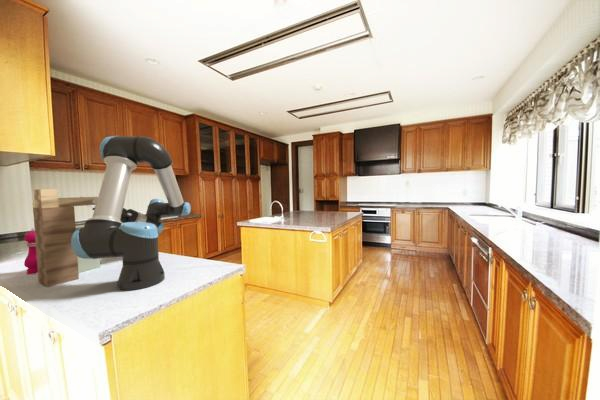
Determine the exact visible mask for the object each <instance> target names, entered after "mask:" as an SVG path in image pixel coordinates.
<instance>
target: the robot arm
mask: <svg viewBox="0 0 600 400" xmlns="http://www.w3.org/2000/svg"><path fill="white" fill-rule="evenodd" d="M99 151H100V152H99V154H100V158H101V159H102V160H103V163H104V164H105V165H106V168H105V171H104V175H103V179H102V183H101V185H100V189H99V192H98V195H97V196H94V197H95V198H94V200H93V201H92V202H93V203H95V204H96V205H85V206H86V207H89V208H91V209H92V211H93V213H92V217H90V218H89V219H86V220H85V223H84V225H85V226H84V225H83V226H84V228H83V227H82V228H79V229H77V230H76V231H75V232H74V233H73V235H72V238H71V246H72V249H73V250H74V253H75V254H76V255H77V256H78V257H80V258H84V259H98V258H100V259H106V258H107V259H108V258H121V259H122V267H121V271H120V273H119V276H118V279H117V288H118V289H119V290H121V291H122V290H123V291H133V290H135V291H136V290H139V289H140V290H142V289H144V288H145V289H146V288H149V287H152V286H155V285H157V284H160V283H161V282H163V281H164V280H165V278H166V277H165V271H164V268H163V266H162V264H161V262H160V259H159V257H160V254H159V253H160V252H159V234H161V233H162V232H163V231H164V228H165V223H164V222H162V221H161V220H162V219H161V218H162V217H169V216H170V217H177V216H178V217H179V216H180V217H181V216H189V215H190V214H191V210H192V209H191V208H192V207H191V204H190V203H189V202H188V201H184V198H183V196H182V193H181V190H180V187H179V185H178V181H177V179H176V175H175V173H174V169H173V166H172V165H173V159H172V157H171V155H170V154H169V152H168V151H167V150H166V148H165V147H164V146H163V145H162V144H161V143H160V142H158V141H157V140H155V139H153V138H152V137H148V136H143V135H142V136H132V135H131V136H129V135H128V136H123V135H114V136H107V137H105V138H103V139H102V140H101V142H100V144H99ZM138 163H140V164H141V163H143V164H144V163H146V164H149V167H150V168H151V169H152V170H154V173H155V174H156V177H157V179H158V182H159V184H160V186H161V188H162V191H163V194H164V196H165V199H166V200H167V202H165V201H164V200H163V199H158V198H152V199H151V200H150V201H149V204H148V205H147V209H146V213H145V214H143V213H141V212H138V211H137V210H135V209H132V208H129V209H126V208H124V205H125V200H126V196H127V193H128V187H129V184H130V179H131V174H132V172H133V171H134V170H135V171H136V169H137V166H138Z"/></svg>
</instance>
